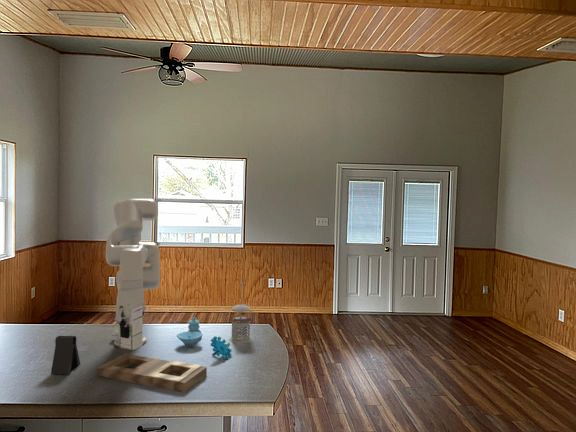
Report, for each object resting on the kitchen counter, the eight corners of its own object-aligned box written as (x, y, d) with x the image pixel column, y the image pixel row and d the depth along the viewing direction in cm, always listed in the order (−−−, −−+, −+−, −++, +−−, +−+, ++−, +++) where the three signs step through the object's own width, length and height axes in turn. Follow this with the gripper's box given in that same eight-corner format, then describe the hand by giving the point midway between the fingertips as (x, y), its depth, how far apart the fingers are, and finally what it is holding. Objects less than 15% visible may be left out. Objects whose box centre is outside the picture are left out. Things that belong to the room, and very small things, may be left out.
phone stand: (64, 364, 163) (63, 332, 162) (80, 365, 163) (80, 332, 162) (50, 374, 154) (50, 340, 153) (68, 375, 154) (68, 340, 153)
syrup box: (143, 345, 160) (143, 305, 159) (132, 350, 154) (132, 309, 153) (129, 342, 162) (129, 303, 161) (118, 348, 156) (118, 307, 155)
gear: (222, 359, 167) (208, 337, 171) (211, 368, 169) (198, 346, 172) (238, 354, 177) (225, 333, 181) (228, 363, 178) (215, 342, 182)
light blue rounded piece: (200, 350, 181) (200, 328, 181) (173, 349, 181) (174, 327, 180) (207, 336, 199) (207, 315, 199) (183, 335, 199) (183, 315, 198)
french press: (224, 339, 195) (225, 281, 194) (246, 333, 203) (247, 278, 202) (237, 345, 188) (238, 285, 187) (259, 339, 196) (260, 282, 194)
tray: (98, 375, 154) (98, 366, 154) (125, 361, 167) (125, 352, 167) (184, 392, 143) (184, 382, 143) (206, 375, 156) (206, 366, 156)
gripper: (138, 278, 166) (137, 325, 167) (104, 288, 150) (104, 340, 151) (155, 280, 163) (155, 328, 165) (123, 290, 147) (123, 344, 149)
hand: (131, 334), depth 158 cm, fingers closed on syrup box, 5 cm apart
